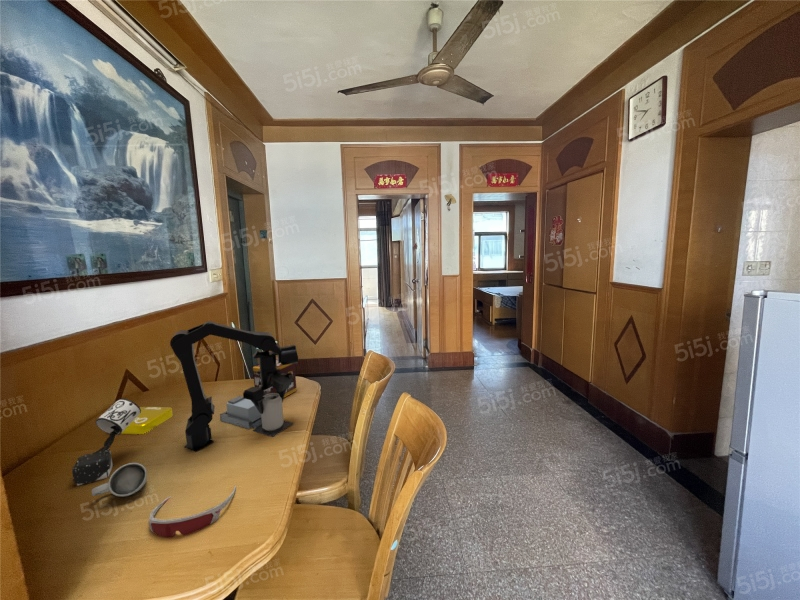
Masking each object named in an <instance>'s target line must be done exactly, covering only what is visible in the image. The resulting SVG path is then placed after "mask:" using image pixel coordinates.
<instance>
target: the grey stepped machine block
mask: <svg viewBox="0 0 800 600" xmlns="http://www.w3.org/2000/svg"><path fill="white" fill-rule="evenodd" d="M226 411H227V414H228V415H231V416H235V417H239V418H242V419H246V420H249V421H252V422H254V421H255V420H257V419H259V418H261V414H260V412H259V411H258V409H257V408H256V406H255V405H254V404H253V402H252V401H251V400H248V399H244V398H243V395H238V396H236V397H234V398H231V399H229V400H227V402H226Z"/></svg>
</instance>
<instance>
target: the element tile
mask: <svg viewBox="0 0 800 600" xmlns="http://www.w3.org/2000/svg"><path fill="white" fill-rule="evenodd" d="M139 407H140V409H141V413H140V414H139V415H138V416H137V417H136V418H135V419H134V420H133V421H132V422H131V423H130V424H129V425H128V426H127V427H126V429H125V430H124V431H123V432H122V433H121V434H120V435H137V434H139V435H145V434H147V433H149V432H151V431H152V430H154V429H155V428H154V427H156V426H157V427H158V426H159V425H161V424H162V423H164V422H166V421H167V420H169V419H170V418H172V417H173V416H174V415H173V408H172V407H170V406H169V407H167V406H164V407H163V406H139ZM157 427H156V428H157ZM153 428H154V429H153ZM151 429H152V430H151ZM150 430H151V431H150ZM148 431H149V432H148ZM146 432H147V433H146ZM144 433H145V434H144Z"/></svg>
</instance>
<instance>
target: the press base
mask: <svg viewBox="0 0 800 600" xmlns="http://www.w3.org/2000/svg"><path fill="white" fill-rule="evenodd" d="M219 418H220V421H221V422H223V423H225V424H226V423H227V424H230V425H233V426H237V427H240V428H244V429H246V430H251V429H252V432H254V433H257V434H262V435H265V436H268V437H271V438H274V437H275V436H277V435H279V434H280V433H282V432H284V431H285V430H286V429H289V427H292V426H293V425H294V423H293V422H291V421H288V420H284V419H283V421H284V423H283V425H282V426H281V427H280V428H278V429H276V430H273V431H267V430H265V429H263V428H262V419H261V418H259V419H257V420H255V421H254V422H252V421H249V420H246V419H242V418H239V417H235V416H231V415H228V414H227V410H226V411H224V412H222V413H220V414H219Z"/></svg>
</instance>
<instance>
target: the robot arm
mask: <svg viewBox="0 0 800 600" xmlns="http://www.w3.org/2000/svg"><path fill="white" fill-rule="evenodd" d="M208 336H215V337H219V338H222V339H228V340H230V341H231V340H232V341H236V342H240V343H244V344H247V345H250V346H252V347H254V348H256V351H255V352H254V353H252V357H253V359H258V363H259V364H258V365H260V370H259V371H258V374H260V377H261V381H260V382H259V385H261V386H262V387H260V388H257V387H255V386H251V387H249V388H247V389H245V390H244V391H243V392H242V397H243V398H244V399H248V400H251V401H252V402H253V404H254V405H255V406H256V408H257V409H258V411H259V412H260V414H263V399H264V398H265V397H263V396H264V391H266V390H268V389H270V388H272V387H273V388H275V389H276V391H277V394H279V395H280V397H281V398H282V403H283V402H284V399H285V397H284V395H285V392H286V389H288V388H289V386H290V385H291V383H292V382H294V379H293V375H292V373H290V372H289V373H287V374H285V373H282V374H281V373H280V370H279V369H277V364H276V358H278V363H281V364H282V365H288V364H293V363H295V364H298V363H299V355H298V351H297V347H296V345H295V344H291V345H289V346H288V345H287V346H281V347H280V345H279V344H278V343H276V339H275V337H274V336H273V334H272V333H271V332H267V331H249V330H245V329H242V328H237V327H233V326H230V325H225V324H220V323H217V322H215V321H212V320H208V321H206V322H204V323H202V324H199V325H197V326H194V327H192V328H189V329H188V330H186V329H182V330H178V331H176V332H175V333H174V335H173V336H172V337H171V339H170V342H169V343H170V344H169V345H170V348H171V350H172V352H173V353H174V355H175V357H176V358H177V359H178V361H179V363H180V365H181V369H182V371H183V377H184V379H185V383H186V386H187V390H188V393H189V397H190V400H191V401H190V402H191V415H190V417H189V418H188V419H187V423H186V425H185V430H184V432H185V433H184V434H185V440H186V445H184V446H183V448H185V449H187V450H190V451H192V452H195V453H196V452H199V451H201V450H203V449H205V448H206V447H208V446H210V445H212V444H214V442H215V440H213V439H212V428H211V427H210V423H211V422H212V421H213V415H215V407H216V406H215V405H214V404H213V396H209V397H207V395H206V394H205V391H204V387H203V383H202V380H201V376H200V372H199V369H198V365H197V362H196V358H195V344H196V343H198V342H199V341H201V340H203V339H205V338H207V337H208Z"/></svg>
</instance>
